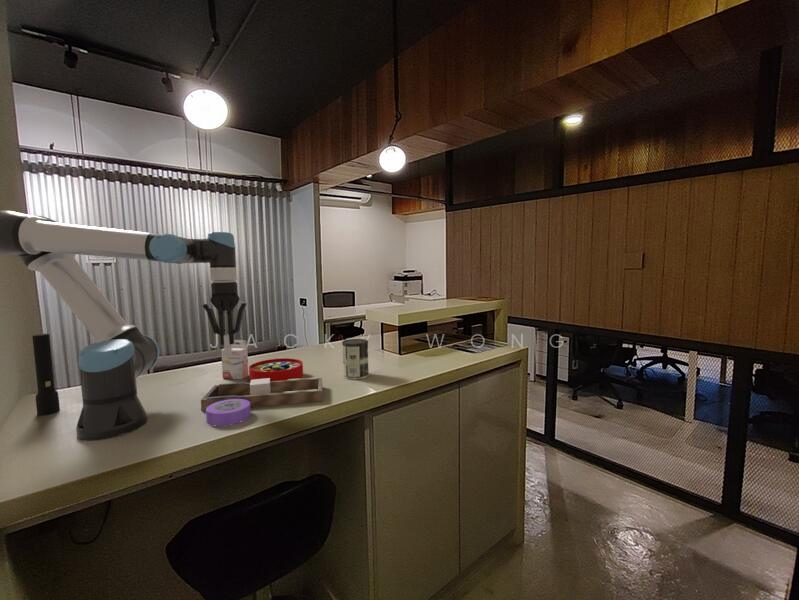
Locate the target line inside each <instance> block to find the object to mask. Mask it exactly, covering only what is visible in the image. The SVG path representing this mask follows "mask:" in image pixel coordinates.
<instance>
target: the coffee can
mask: <svg viewBox="0 0 799 600" xmlns="http://www.w3.org/2000/svg"><path fill="white" fill-rule="evenodd" d="M341 345H342V369H343V370H342V372H343V373H342V374H343V375H342V376H343V378H344V379H346V380H356V381H357V380H363V379H366V378H368V377H369V376H370V375H369V374H370V373H369V340H368V339H365V338H350V339H344V340H342V342H341Z"/></svg>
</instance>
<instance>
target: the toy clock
mask: <svg viewBox="0 0 799 600" xmlns="http://www.w3.org/2000/svg"><path fill="white" fill-rule="evenodd" d="M248 377H249V380H248V381H249V383H250V382H251V380H254V379H265V378H270V381H282V380H288V379H300V378H304V364H303V361H302V360H300V359H296V358H290V357H286V358H284V357H283V358H271V359H265V360H260V361H256V362H254V363H252V364H251V365H248Z"/></svg>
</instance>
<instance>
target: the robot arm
mask: <svg viewBox="0 0 799 600" xmlns="http://www.w3.org/2000/svg"><path fill="white" fill-rule="evenodd" d="M0 255H3V256H8V257H18V258H19V259H20V261H22V263H23V264H24V265H25V266H26V268H27V269H28V270H30V271H34V272H39V273H40V275H42V276H43V278H44V279H45V280H46V281H47V283H48V284H49V285H50V286H51V287H52V288H53V290H54V291H55V292H56V293H57V295H58V296H59V297H60V298H61V299H62V301H63V302H64V303H65V304H66V306H67V307H68V308H69V309H70V311H72V313H73V314H74V315H75V316H76V318H77V319H78V320H79V321H80V322H81V324H82V325H83V326H84V327H85V328H86V329H87V331H88V332H89V333H90V334H91V336H92V337H93V338H94V339H95V341H96V342H93V343H91V344H88V345H86V346H84V347H83V348H81V350H80V351H79V352H78V361H77V362H78V364H77V365H78V368H79V377H80V386H81V387H80V388H81V396H82V408H81V411H80V414H79V418H78V421H77V424H76V429H75V431H76V437H77V439H80V440H84V441H95V440H96V441H98V440H103V439H104V440H105V439H109V438H110V439H111V438H115V437H118V436H122V435H125V434H127V433H131V432H134V431H135V430H138V429H140V428H141V427H143V426H144V425H145V424H146V423H147V421H148V418H147V416H148V415H147V411H146V410H145V407H144V406H143V404H142V402H141V400H140V398H139V396H138V391H137V390H138V387H137V386H138V385H137V378H138V377H140V376H141V375H144V374H145V373H146V372H149V371H150V370H151V369H153V367H154V366H155V365H156V363H158V360H159V358H160V356H161V355H160V353H161V352H160V351H161V350H160V346H159V344H158V342H157V341H156V340H155V339H154V338H152V337H151V336H149V335H146V334H143V332H141V331H140V329H139V328H138V326H136V325H134V324H133V325H132V324H128V323H127V322H126V321H125V319H123V317H122V316H121V314H120V313H119V312H118V310H117V309H116V308H115V307H114V306H113V305H112V303H111V302H110V301H109V299H107V297H106V296H105V294H104V293H103V292H102V291H101V290H100V289H99V287H98V286H97V285H96V283H95V282H94V281H93V280H92V278H91V277H90V276H89V275H88V273H87V272H86V271H85V269H84V268H83V267H82V266H81V264H79V262H78V261H77V260H76V258H75V256H76V255H83V256H94V257H106V258H115V259H128V260H139V261H140V260H141V261H151V262H161V263H165V264H180V265H181V264H207V263H208V264H209V272H210V281H211V284H210V287H211V288H210V289H211V290H210V291H211V297H210V300H209V301H208V302H206V303H205V304H203V305H202V307H203V309H204V310H205V311H206V314H207V316H208V319H209V323H210V326H211V328H212V331H213V334H217V335H219V337H220V345H221V346H223V347H224V348H223V349H224V350H225V356H226V355H231V354H232V347H231V344H235V343H234V342H235V341H234V340H235V334H236V333H238V332H240V331H241V328H242V327H241V326H242V323H243V318H244V312H245V309H246V307H247V306H248V303H247V301H246V302H244V301H242V300H241V298H240V296H239V293H238V282H237V278H238V275H237V258H236V257H237V256H236V243H235V236H234V234H232V233H231V232H226V231H211V232H208V234H207V238H187V237H181V236H178V235H176V234H172V233H171V234H170V233H151V232H144V231H136V230H127V229H125V230H124V229H117V228H107V227H98V226H90V225H89V226H87V225H79V224H70V223H62V222H59V221H57V220H55V219H51V218H49V217H47V216H42V215H32V214H27V213H22V212H19V211H18V212H16V211H14V210H13V211H12V210H0ZM236 306H237V307H238V311H237V316H236V321H235V319H234V309H235V308H236ZM213 307H214V308H216V310H217V313H218V321H217V318H216V314H215V311H214V309H213ZM225 313H226V315H227V327H226V315H225ZM234 321H235V322H234ZM226 328H227V329H226ZM227 331H228V332H227Z"/></svg>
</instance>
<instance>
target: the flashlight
mask: <svg viewBox="0 0 799 600" xmlns="http://www.w3.org/2000/svg"><path fill="white" fill-rule="evenodd" d="M31 338H32V346H33V354H34V355H33V356H34V364H35V365H34V366H35V367H34V368H35V372H36V373H35V377H36V383H37V393H36V394H35V405H36V415H37V416H47V415H51V414H55V413H58V412H60V398H59V392H58V390H56V388H55V386H56V385H55V377H54V366H53V358H52V349H51V348H52V347H51V339H50V338H51V337H50V333H38V334H33V335H32V337H31Z"/></svg>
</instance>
